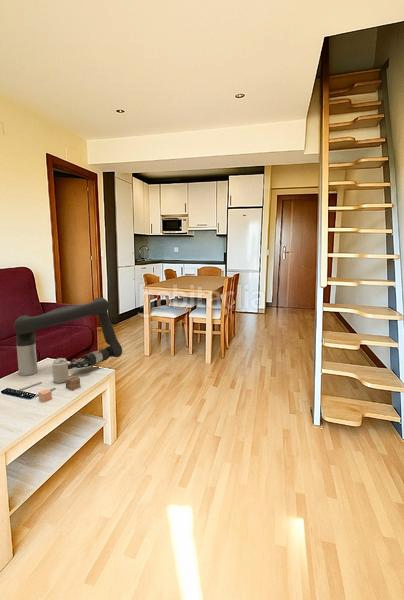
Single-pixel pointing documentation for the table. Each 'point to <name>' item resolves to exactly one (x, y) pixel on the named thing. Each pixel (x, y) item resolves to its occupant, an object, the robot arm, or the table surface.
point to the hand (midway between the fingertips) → (66, 367)
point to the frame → (32, 386)
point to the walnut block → (72, 382)
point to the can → (60, 370)
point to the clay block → (45, 395)
